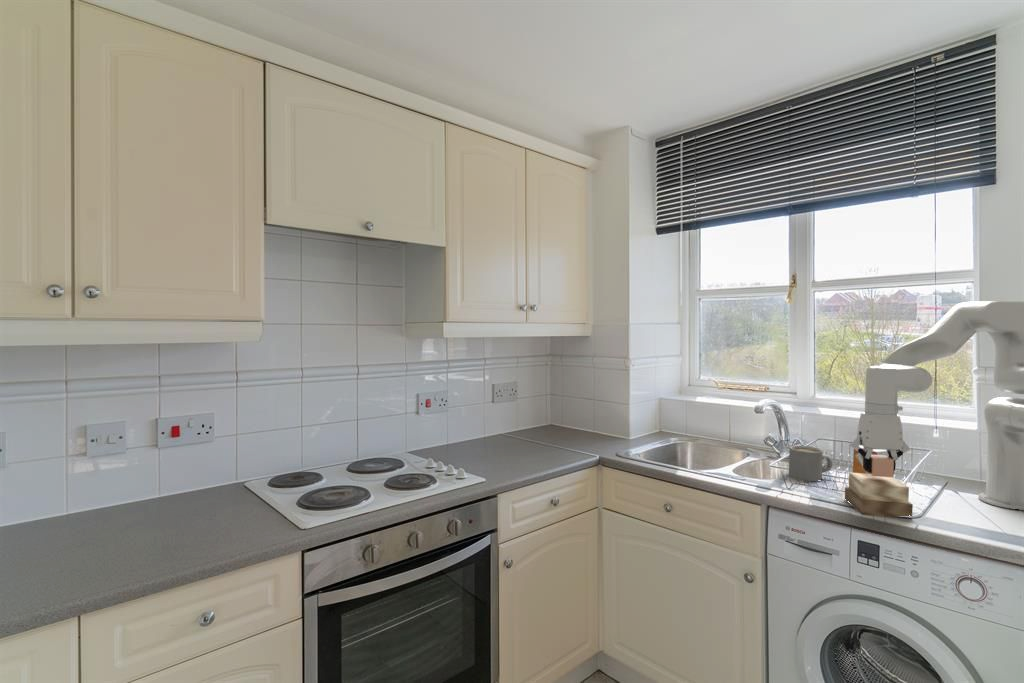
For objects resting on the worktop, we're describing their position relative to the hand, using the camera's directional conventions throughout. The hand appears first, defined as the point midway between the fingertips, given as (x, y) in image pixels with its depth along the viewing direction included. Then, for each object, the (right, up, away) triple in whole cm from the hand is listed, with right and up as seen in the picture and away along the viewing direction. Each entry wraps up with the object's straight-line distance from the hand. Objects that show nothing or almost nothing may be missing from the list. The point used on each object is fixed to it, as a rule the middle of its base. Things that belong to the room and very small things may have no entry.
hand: (878, 471), depth 145 cm
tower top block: (0, -7, 0) cm, 7 cm away
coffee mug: (-2, -10, +29) cm, 31 cm away
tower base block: (0, -11, 0) cm, 11 cm away
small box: (+11, -10, +19) cm, 25 cm away
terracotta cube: (0, -1, 0) cm, 1 cm away
